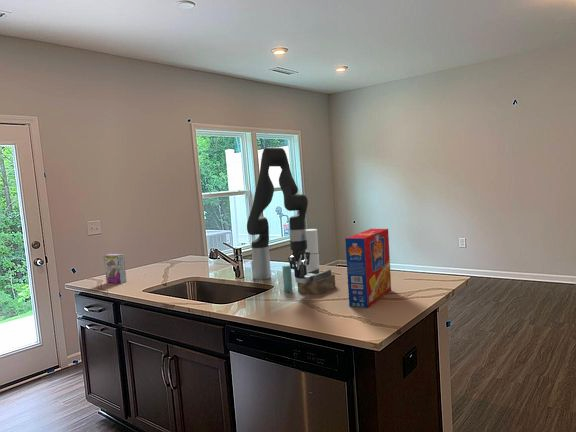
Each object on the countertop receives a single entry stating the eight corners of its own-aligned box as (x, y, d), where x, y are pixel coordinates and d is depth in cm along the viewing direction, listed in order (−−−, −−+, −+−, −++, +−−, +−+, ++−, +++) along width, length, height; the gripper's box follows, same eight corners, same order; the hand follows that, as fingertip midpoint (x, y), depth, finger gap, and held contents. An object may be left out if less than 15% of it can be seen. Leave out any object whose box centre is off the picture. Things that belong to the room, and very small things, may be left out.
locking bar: (295, 282, 200) (293, 265, 200) (308, 277, 209) (307, 260, 208) (303, 283, 197) (302, 265, 197) (316, 278, 206) (315, 261, 205)
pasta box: (367, 308, 175) (364, 238, 173) (349, 306, 180) (345, 238, 177) (391, 290, 199) (388, 228, 197) (374, 289, 203) (371, 228, 201)
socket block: (298, 291, 208) (296, 274, 207) (314, 284, 219) (313, 268, 218) (319, 294, 201) (318, 276, 200) (335, 286, 212) (334, 269, 211)
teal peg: (282, 291, 210) (280, 266, 209) (287, 289, 213) (285, 264, 212) (289, 292, 208) (287, 267, 207) (294, 290, 211) (292, 265, 210)
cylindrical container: (319, 277, 234) (316, 230, 231) (305, 277, 235) (302, 231, 233) (320, 274, 240) (317, 228, 238) (307, 274, 242) (304, 229, 240)
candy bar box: (106, 283, 256) (103, 255, 254) (112, 281, 260) (109, 253, 259) (120, 284, 251) (117, 255, 250) (127, 282, 256) (124, 253, 254)
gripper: (300, 236, 206) (303, 272, 208) (281, 241, 195) (284, 279, 197) (314, 236, 202) (316, 273, 203) (295, 241, 190) (298, 280, 192)
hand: (300, 276), depth 200 cm, fingers open, 4 cm apart
